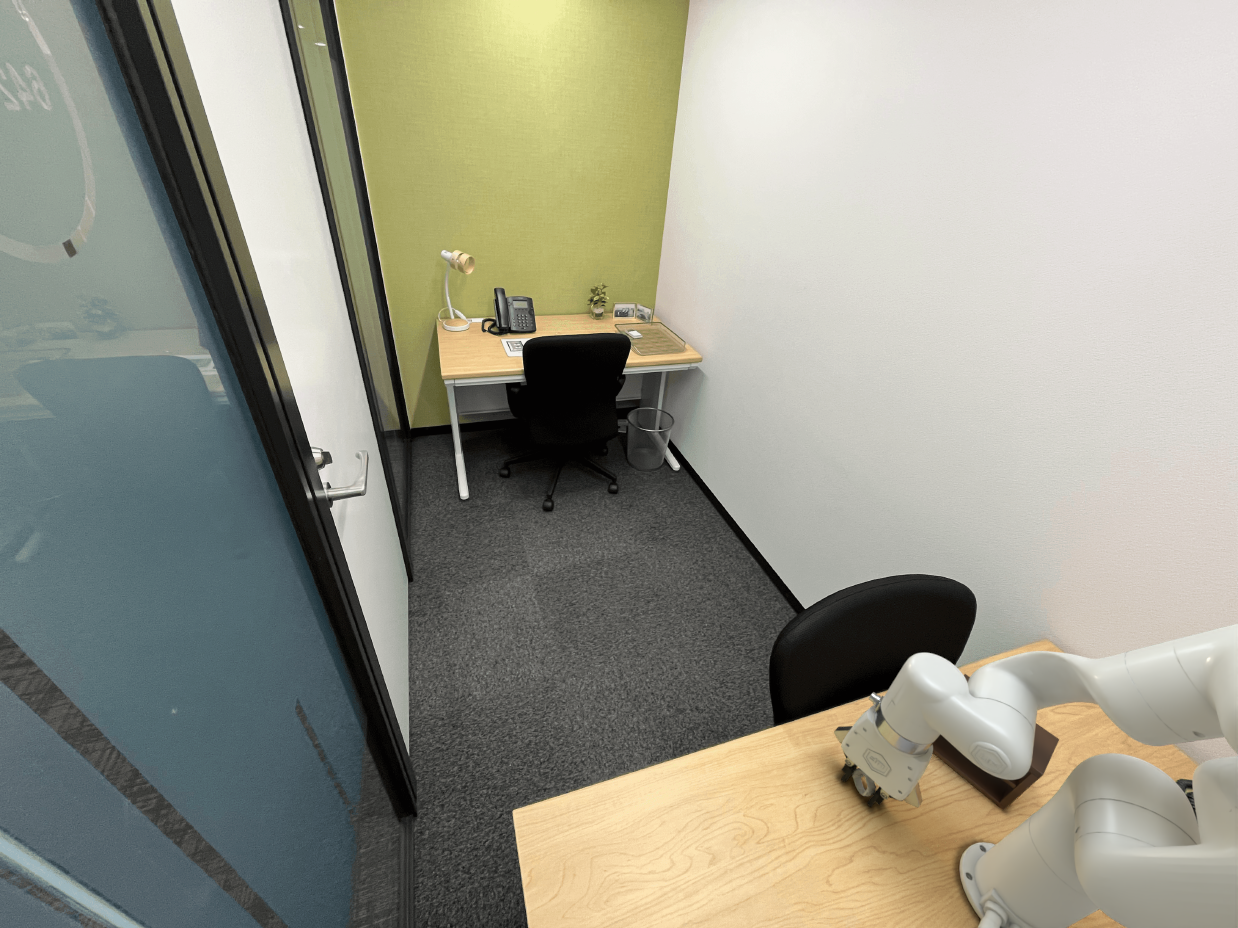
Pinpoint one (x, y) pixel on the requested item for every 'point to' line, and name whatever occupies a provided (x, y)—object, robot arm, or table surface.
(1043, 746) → the rack
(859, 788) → the grey ring
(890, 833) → the table surface
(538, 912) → the table surface
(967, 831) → the table surface
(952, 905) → the table surface
